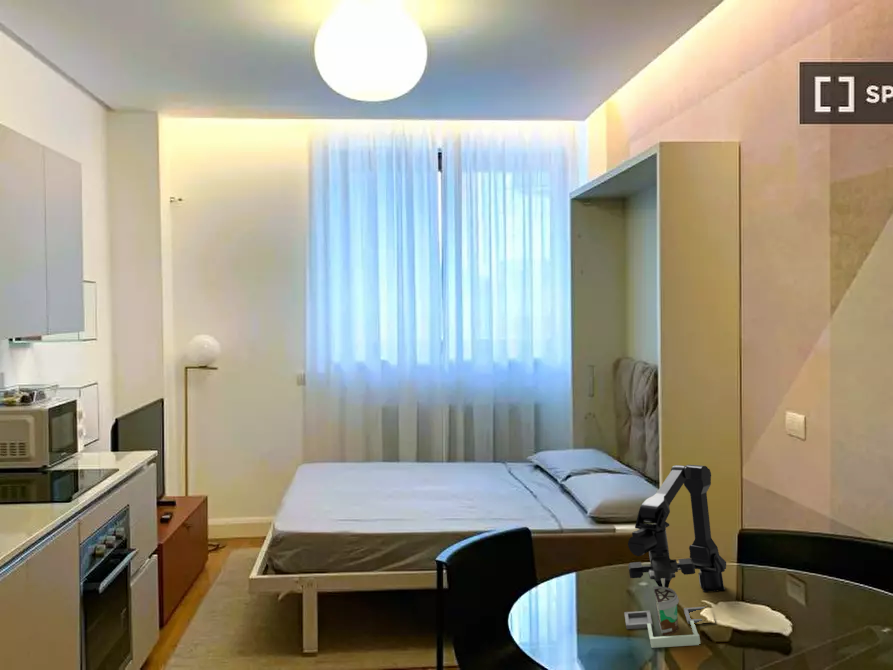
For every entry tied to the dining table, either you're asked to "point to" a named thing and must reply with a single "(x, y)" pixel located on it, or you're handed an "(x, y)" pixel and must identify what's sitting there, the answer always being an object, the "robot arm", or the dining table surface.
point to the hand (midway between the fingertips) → (664, 596)
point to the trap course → (644, 621)
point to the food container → (666, 609)
